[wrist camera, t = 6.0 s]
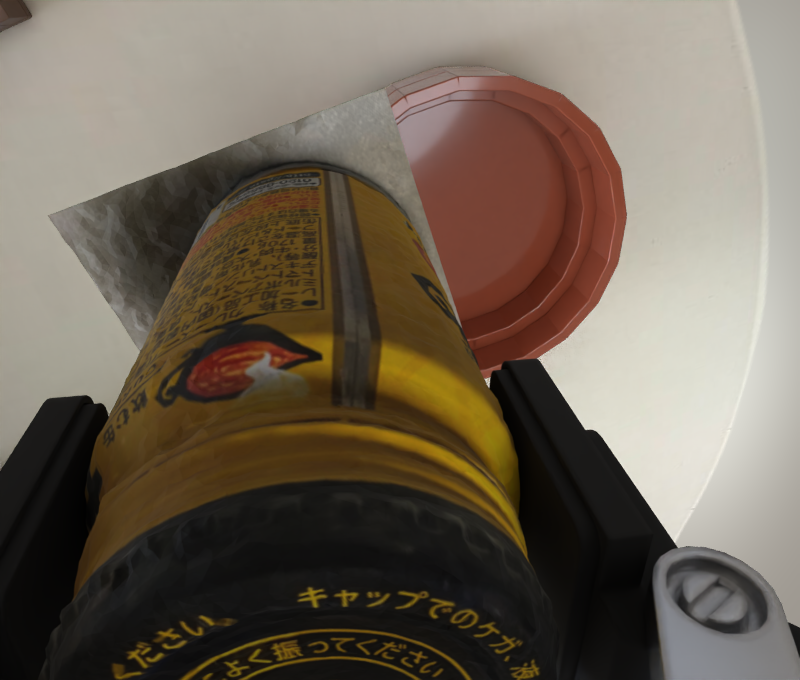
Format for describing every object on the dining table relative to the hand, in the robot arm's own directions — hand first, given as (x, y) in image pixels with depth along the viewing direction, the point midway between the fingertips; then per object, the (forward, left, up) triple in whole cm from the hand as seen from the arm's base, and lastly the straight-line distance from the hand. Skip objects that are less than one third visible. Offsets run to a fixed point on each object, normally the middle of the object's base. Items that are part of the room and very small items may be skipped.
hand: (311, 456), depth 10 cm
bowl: (+4, +8, -24) cm, 26 cm away
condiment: (0, -1, -7) cm, 8 cm away
